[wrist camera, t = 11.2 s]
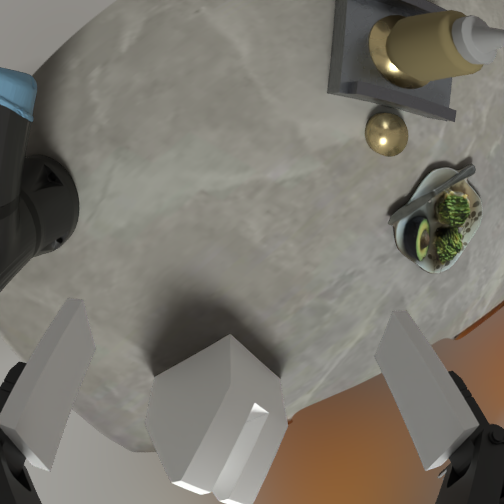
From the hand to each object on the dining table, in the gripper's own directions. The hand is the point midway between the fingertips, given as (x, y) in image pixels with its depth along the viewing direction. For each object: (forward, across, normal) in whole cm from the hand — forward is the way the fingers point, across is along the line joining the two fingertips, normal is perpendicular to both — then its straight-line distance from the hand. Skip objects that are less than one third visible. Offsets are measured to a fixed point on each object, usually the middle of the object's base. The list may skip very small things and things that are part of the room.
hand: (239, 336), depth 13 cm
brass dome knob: (+32, +20, +8) cm, 38 cm away
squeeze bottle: (+26, +19, +19) cm, 38 cm away
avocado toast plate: (+32, +33, -4) cm, 46 cm away
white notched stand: (+32, -1, -39) cm, 51 cm away
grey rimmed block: (+31, +19, +19) cm, 42 cm away
